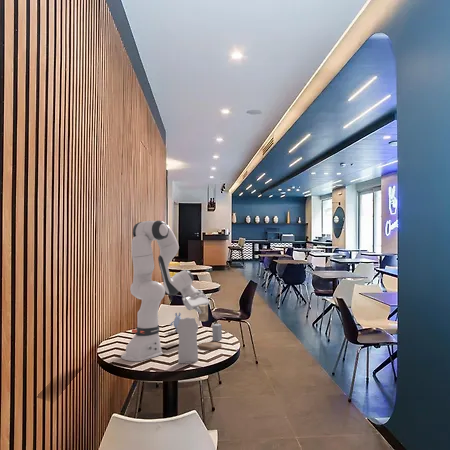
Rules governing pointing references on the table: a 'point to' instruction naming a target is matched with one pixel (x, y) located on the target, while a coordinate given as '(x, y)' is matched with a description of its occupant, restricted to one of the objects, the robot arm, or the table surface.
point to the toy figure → (176, 321)
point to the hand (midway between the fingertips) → (204, 312)
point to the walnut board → (209, 346)
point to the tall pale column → (187, 340)
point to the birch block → (205, 313)
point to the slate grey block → (217, 332)
